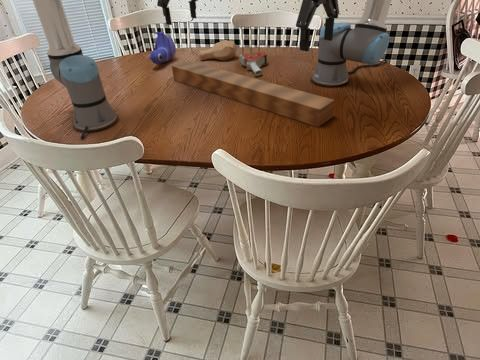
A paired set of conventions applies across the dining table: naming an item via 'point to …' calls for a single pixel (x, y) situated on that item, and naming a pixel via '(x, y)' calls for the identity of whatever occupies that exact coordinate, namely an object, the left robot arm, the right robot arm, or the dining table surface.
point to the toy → (162, 49)
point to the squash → (220, 51)
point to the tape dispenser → (254, 62)
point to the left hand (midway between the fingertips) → (181, 21)
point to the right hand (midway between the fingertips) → (316, 45)
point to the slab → (257, 92)
